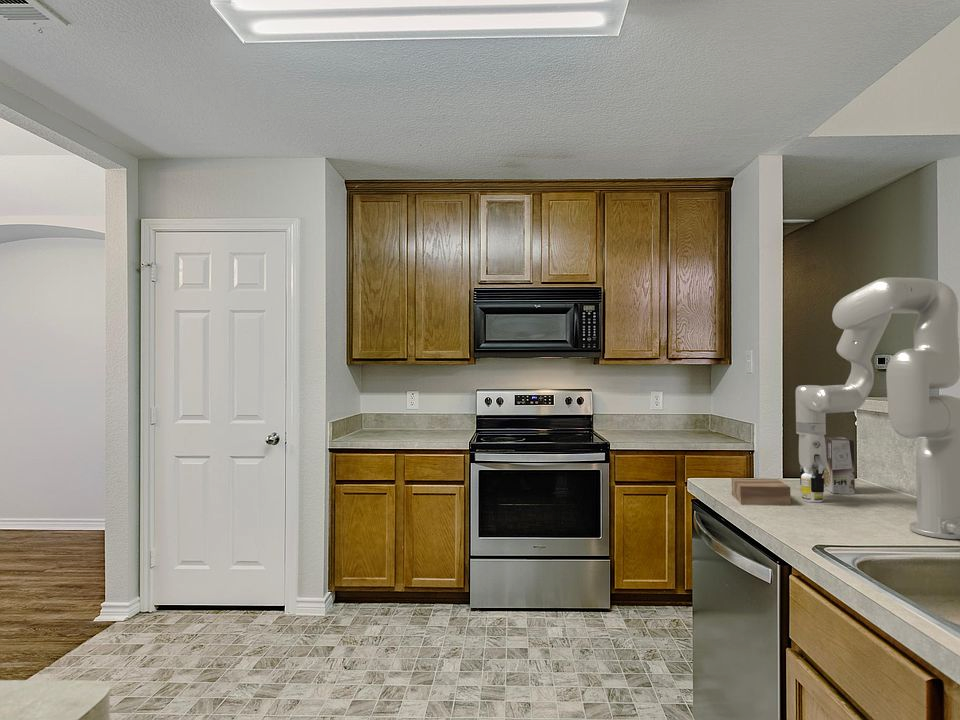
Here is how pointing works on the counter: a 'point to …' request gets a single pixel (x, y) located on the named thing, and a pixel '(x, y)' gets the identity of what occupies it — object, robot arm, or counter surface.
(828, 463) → the coffee box
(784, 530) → the counter surface
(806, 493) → the supplement bottle
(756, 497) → the walnut block
